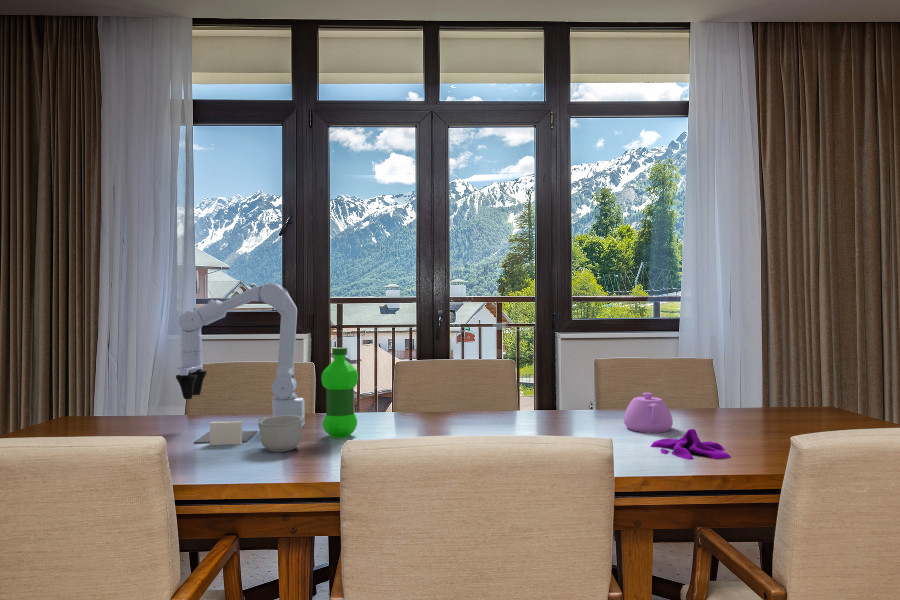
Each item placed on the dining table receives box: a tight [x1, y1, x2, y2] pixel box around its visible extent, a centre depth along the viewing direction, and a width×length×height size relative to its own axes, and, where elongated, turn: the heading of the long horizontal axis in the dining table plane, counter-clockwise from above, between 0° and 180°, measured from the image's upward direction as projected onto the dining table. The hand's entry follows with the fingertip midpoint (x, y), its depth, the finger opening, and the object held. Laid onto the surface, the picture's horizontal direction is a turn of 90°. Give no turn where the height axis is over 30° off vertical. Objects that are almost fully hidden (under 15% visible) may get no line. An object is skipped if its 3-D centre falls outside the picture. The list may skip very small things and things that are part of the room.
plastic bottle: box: [320, 347, 359, 439], centre depth 178 cm, size 10×10×25 cm
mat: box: [193, 430, 258, 444], centre depth 177 cm, size 14×13×1 cm
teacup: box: [257, 415, 303, 453], centre depth 164 cm, size 14×11×8 cm
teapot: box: [623, 392, 674, 434], centre depth 186 cm, size 14×20×11 cm
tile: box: [209, 420, 243, 446], centre depth 170 cm, size 8×2×6 cm, turn 95°
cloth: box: [650, 428, 732, 461], centre depth 157 cm, size 22×19×6 cm
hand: (192, 396), depth 188 cm, fingers open, 7 cm apart
